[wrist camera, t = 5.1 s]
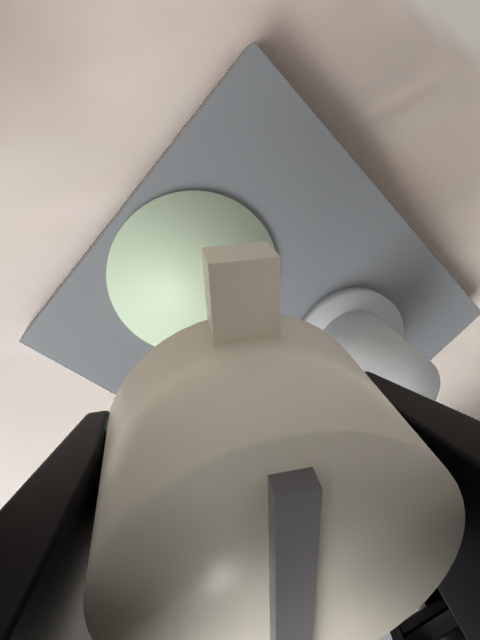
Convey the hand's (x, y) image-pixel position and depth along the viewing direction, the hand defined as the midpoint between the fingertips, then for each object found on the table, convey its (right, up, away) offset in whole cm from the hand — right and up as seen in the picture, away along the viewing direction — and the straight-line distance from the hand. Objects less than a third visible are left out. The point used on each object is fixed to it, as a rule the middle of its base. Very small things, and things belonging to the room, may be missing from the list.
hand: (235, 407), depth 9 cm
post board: (+1, +2, +10) cm, 10 cm away
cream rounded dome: (0, 0, -1) cm, 1 cm away
